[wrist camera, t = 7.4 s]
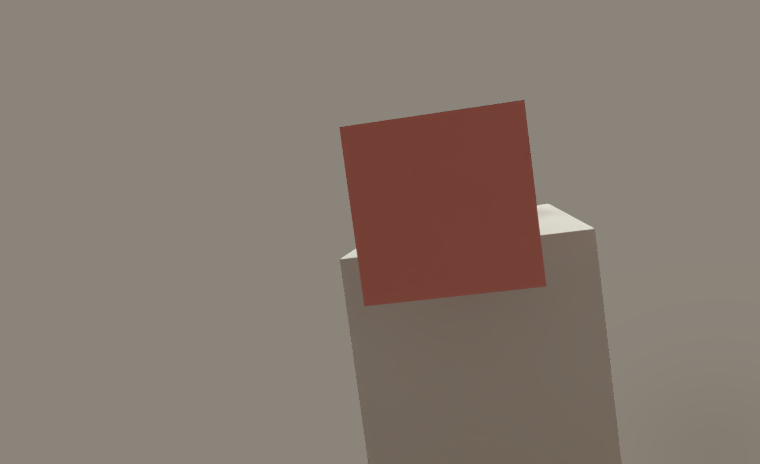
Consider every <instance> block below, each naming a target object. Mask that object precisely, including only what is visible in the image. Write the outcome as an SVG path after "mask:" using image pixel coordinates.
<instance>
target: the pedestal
mask: <svg viewBox="0 0 760 464" xmlns="http://www.w3.org/2000/svg"><path fill="white" fill-rule="evenodd" d="M537 212H538V220H539V229H540V237H541V246H542V254H543V262H544V271H545V279H546V287H537V288H528V289H519V290H509V291H500V292H491V293H482V294H473V295H464V296H454V297H445V298H436V299H427V300H418V301H409V302H399V303H390V304H381V305H372V306H364V301H363V294H362V286H361V279H360V272H359V265H358V257H357V250H356V249H355V250H353V251H352V252H350V253H349V254H347V255H346V256H344V257H343V258H341V259H340V263H341V271H342V278H343V285H344V292H345V299H346V306H347V314H348V321H349V327H350V334H351V342H352V349H353V356H354V364H355V371H356V378H357V385H358V392H359V400H360V406H361V414H362V421H363V427H364V435H365V442H366V449H367V457H368V464H622V463H621V455H620V446H619V437H618V428H617V420H616V410H615V402H614V393H613V384H612V375H611V366H610V358H609V349H608V340H607V331H606V323H605V314H604V305H603V296H602V288H601V278H600V270H599V261H598V252H597V244H596V235H595V229H594V228H592V227H591V226H589V225H587V224H585V223H583V222H581V221H580V220H578V219H576V218H574V217H572V216H570V215H568V214H567V213H565V212H563V211H560V210H559V209H557V208H555V207H553V206H552V205H550V204H544V205H537Z"/></svg>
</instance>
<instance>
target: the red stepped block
mask: <svg viewBox="0 0 760 464" xmlns="http://www.w3.org/2000/svg"><path fill="white" fill-rule="evenodd" d="M340 133H341V141H342V148H343V156H344V163H345V170H346V177H347V185H348V191H349V199H350V206H351V214H352V220H353V227H354V235H355V243H356V250H357V257H358V265H359V272H360V279H361V286H362V294H363V301H364V306H372V305H381V304H390V303H399V302H409V301H418V300H427V299H436V298H445V297H454V296H464V295H473V294H482V293H491V292H500V291H509V290H519V289H528V288H537V287H546V279H545V271H544V262H543V254H542V246H541V237H540V229H539V220H538V212H537V204H536V195H535V188H534V180H533V179H534V178H533V170H532V162H531V153H530V145H529V137H528V128H527V120H526V112H525V103H524V100H521V101H514V102H507V103H501V104H494V105H487V106H481V107H474V108H467V109H460V110H453V111H446V112H440V113H434V114H426V115H419V116H413V117H406V118H399V119H392V120H385V121H379V122H372V123H366V124H358V125H352V126H345V127H340Z"/></svg>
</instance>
